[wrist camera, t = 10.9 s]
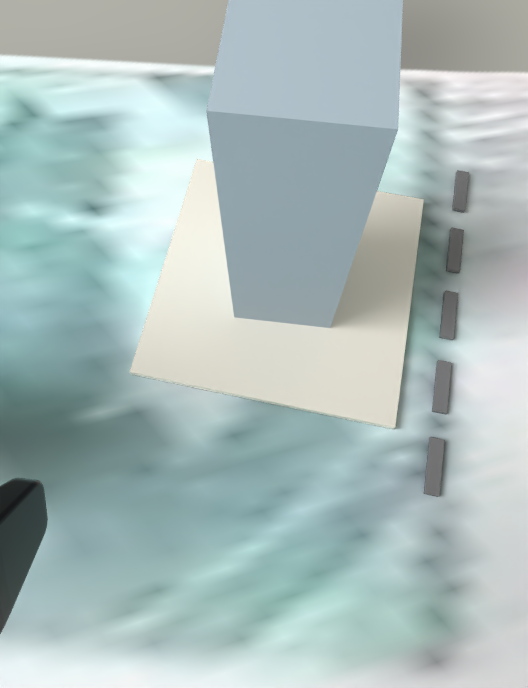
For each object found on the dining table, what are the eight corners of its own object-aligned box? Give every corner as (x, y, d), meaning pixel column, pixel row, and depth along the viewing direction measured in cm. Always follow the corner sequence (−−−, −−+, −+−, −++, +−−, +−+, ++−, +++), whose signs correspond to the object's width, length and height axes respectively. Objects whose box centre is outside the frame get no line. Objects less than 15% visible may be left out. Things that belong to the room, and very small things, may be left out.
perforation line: (456, 172, 27) (457, 170, 27) (467, 174, 27) (468, 172, 27) (423, 493, 21) (425, 493, 21) (437, 496, 21) (439, 496, 21)
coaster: (421, 203, 26) (423, 199, 26) (393, 429, 22) (395, 427, 22) (197, 164, 27) (196, 159, 27) (131, 374, 23) (129, 372, 23)
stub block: (330, 328, 24) (397, 129, 12) (234, 317, 24) (206, 111, 12) (337, 244, 25) (402, -7, 13) (246, 234, 25) (233, -22, 13)
